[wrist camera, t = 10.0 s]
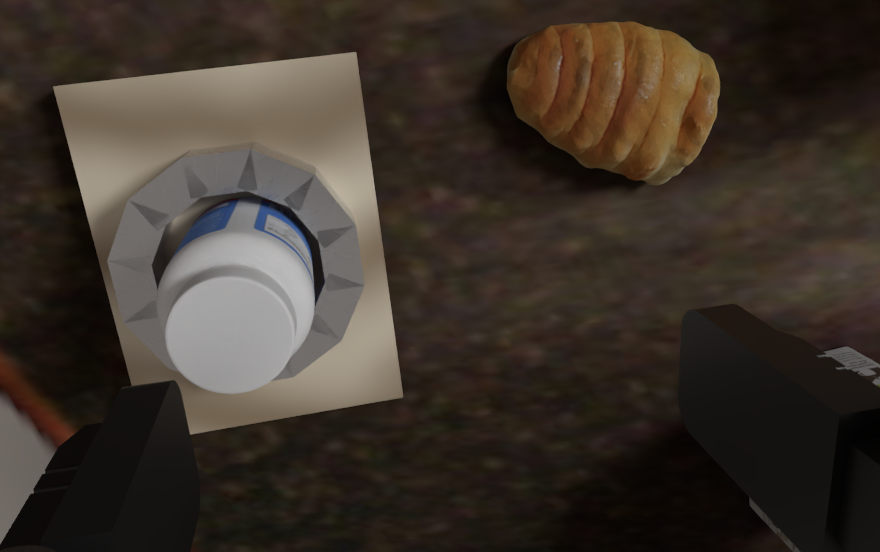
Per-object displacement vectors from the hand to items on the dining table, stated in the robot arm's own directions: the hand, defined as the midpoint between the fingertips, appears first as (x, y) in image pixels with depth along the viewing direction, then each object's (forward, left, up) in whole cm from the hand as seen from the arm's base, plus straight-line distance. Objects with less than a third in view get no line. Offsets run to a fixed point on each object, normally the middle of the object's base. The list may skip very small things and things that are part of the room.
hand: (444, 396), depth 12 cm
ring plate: (+3, -5, -23) cm, 24 cm away
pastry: (-2, +12, -24) cm, 26 cm away
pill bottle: (+3, -5, -22) cm, 22 cm away
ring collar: (+3, -5, -21) cm, 22 cm away
